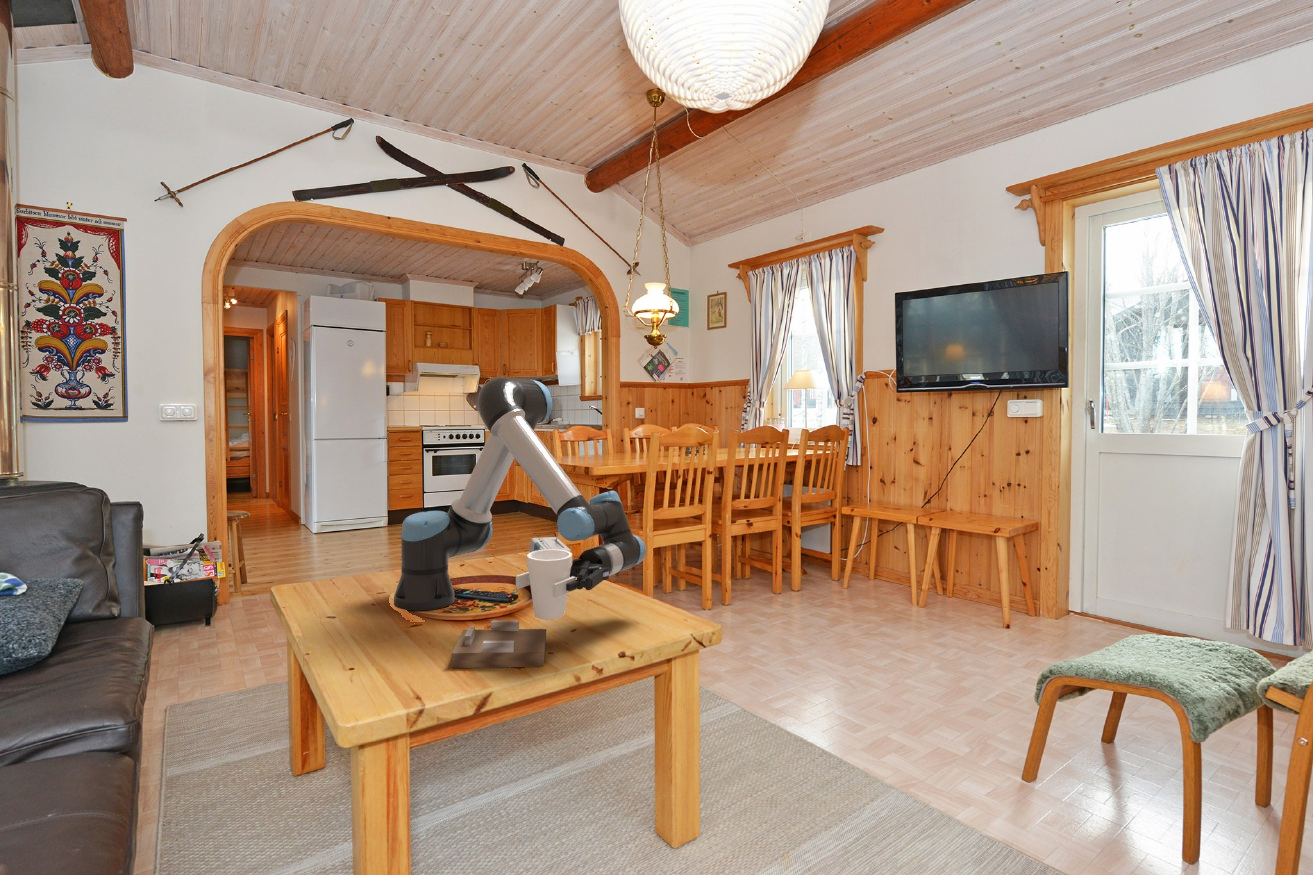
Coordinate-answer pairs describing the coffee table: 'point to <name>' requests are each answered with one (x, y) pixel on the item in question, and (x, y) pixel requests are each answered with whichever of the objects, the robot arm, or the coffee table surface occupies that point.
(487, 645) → the shelf
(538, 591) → the foam cup
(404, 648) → the coffee table surface
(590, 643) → the coffee table surface
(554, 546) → the stereo radio cassette player
